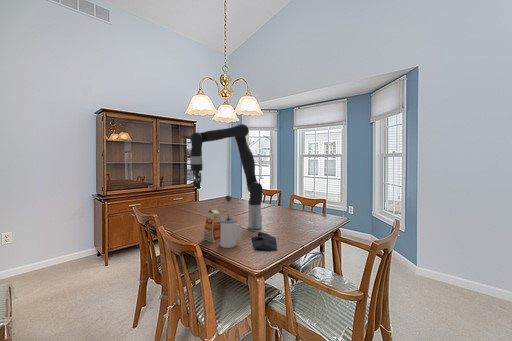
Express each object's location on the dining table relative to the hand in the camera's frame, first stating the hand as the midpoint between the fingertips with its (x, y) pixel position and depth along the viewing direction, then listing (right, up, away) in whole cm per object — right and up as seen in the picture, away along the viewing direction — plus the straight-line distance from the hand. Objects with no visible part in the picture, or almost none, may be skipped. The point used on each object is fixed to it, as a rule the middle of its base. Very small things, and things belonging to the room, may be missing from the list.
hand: (196, 188), depth 158 cm
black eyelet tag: (+44, -33, -16) cm, 57 cm away
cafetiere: (+24, -32, -18) cm, 44 cm away
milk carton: (+12, -31, -9) cm, 35 cm away
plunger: (+23, -19, -19) cm, 36 cm away
